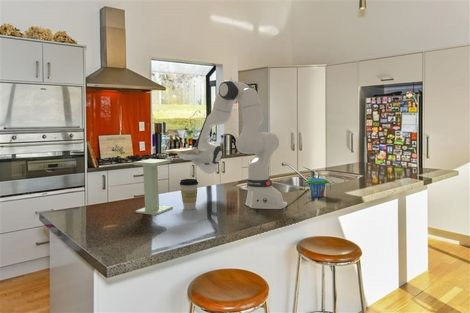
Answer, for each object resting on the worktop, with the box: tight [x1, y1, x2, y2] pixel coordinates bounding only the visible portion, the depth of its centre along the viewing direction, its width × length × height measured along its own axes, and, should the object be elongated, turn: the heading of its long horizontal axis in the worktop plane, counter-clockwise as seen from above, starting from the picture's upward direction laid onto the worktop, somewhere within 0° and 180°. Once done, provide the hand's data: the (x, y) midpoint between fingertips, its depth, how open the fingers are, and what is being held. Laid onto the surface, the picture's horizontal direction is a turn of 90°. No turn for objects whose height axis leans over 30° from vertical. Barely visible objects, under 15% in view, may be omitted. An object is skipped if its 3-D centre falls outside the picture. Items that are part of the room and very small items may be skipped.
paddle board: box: [162, 147, 197, 154], centre depth 201 cm, size 12×21×1 cm, turn 155°
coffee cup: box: [179, 178, 199, 211], centre depth 198 cm, size 10×10×15 cm
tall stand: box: [132, 158, 174, 216], centre depth 193 cm, size 13×14×26 cm
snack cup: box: [303, 177, 332, 198], centre depth 221 cm, size 16×10×10 cm
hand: (188, 148), depth 205 cm, fingers closed on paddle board, 4 cm apart
